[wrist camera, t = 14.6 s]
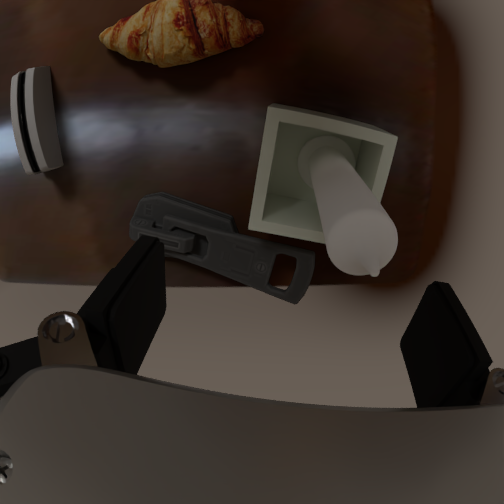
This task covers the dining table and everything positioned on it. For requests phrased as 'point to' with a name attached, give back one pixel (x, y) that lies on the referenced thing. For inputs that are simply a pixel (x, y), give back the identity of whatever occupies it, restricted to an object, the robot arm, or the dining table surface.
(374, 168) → the open square box
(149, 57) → the croissant
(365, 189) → the candle
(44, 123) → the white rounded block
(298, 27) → the dining table surface
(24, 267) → the dining table surface
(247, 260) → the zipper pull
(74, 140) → the dining table surface
